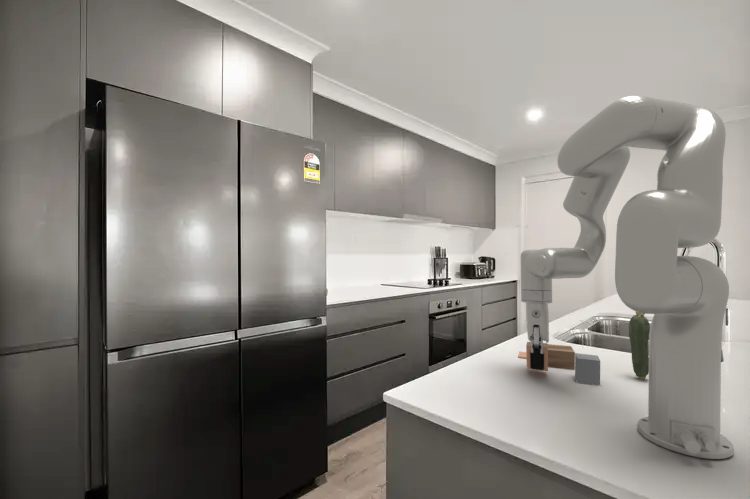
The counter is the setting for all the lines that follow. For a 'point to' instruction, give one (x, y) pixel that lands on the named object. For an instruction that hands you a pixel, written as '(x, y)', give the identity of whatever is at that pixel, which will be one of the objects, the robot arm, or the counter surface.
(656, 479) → the counter surface
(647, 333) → the vegetable
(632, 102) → the robot arm
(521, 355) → the tile
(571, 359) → the base block
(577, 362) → the slate cube
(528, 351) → the terracotta cube
